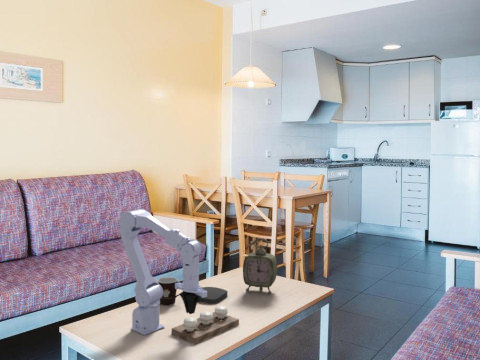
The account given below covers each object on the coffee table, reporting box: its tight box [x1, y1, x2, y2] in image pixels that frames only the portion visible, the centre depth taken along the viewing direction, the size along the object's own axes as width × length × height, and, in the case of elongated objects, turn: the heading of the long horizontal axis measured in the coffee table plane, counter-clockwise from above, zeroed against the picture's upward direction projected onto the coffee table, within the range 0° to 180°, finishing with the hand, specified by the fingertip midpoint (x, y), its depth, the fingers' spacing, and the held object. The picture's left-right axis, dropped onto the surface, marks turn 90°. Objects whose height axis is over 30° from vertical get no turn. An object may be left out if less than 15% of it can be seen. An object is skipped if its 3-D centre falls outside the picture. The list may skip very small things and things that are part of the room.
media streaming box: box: [197, 286, 228, 305], centre depth 199 cm, size 15×15×3 cm
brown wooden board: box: [171, 311, 240, 345], centre depth 164 cm, size 23×12×2 cm, turn 139°
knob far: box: [214, 305, 228, 319], centre depth 170 cm, size 5×5×4 cm
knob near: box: [183, 316, 197, 333], centre depth 158 cm, size 5×5×4 cm
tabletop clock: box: [242, 238, 278, 295], centre depth 207 cm, size 14×9×25 cm, turn 73°
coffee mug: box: [157, 276, 183, 306], centre depth 190 cm, size 12×9×10 cm
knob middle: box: [199, 310, 213, 325], centre depth 164 cm, size 5×5×4 cm
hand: (190, 312), depth 158 cm, fingers closed
